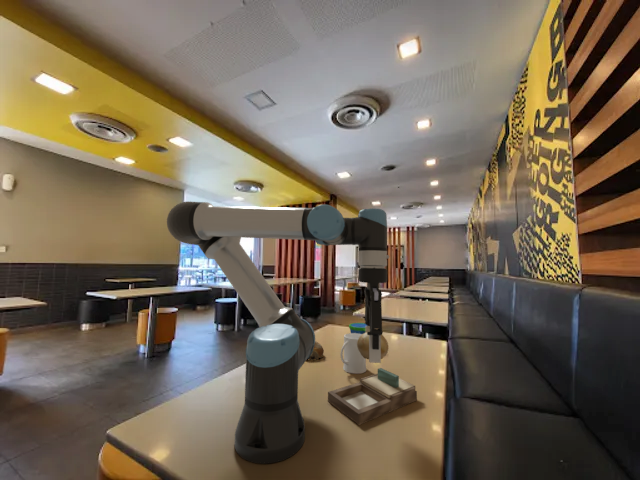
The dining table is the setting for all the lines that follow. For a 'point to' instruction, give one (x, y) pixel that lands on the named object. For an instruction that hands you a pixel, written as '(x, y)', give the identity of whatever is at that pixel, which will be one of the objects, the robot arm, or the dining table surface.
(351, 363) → the mug
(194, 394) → the dining table surface
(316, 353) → the bread roll
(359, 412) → the brown sliding lid box
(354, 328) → the snack cup
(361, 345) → the onion
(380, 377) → the cover
